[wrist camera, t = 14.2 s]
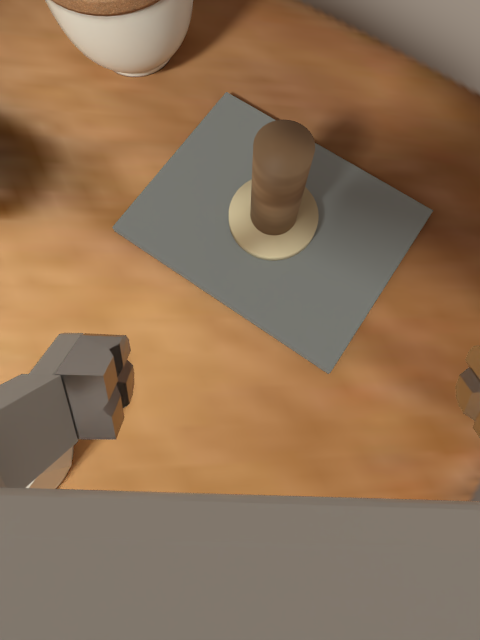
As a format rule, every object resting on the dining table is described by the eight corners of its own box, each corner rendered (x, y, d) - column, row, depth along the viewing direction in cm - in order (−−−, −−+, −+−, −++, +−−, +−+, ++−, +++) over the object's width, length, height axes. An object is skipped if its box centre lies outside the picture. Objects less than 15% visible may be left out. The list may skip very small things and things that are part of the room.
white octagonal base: (-43, 465, 25) (-105, 475, 20) (22, 385, 26) (-23, 378, 21) (29, 526, 24) (-19, 550, 19) (93, 440, 25) (61, 444, 21)
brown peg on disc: (211, 230, 28) (200, 159, 20) (260, 166, 29) (267, 77, 21) (285, 277, 27) (302, 221, 19) (332, 209, 28) (366, 132, 21)
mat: (114, 231, 28) (112, 227, 28) (226, 97, 31) (226, 91, 31) (328, 373, 26) (330, 372, 25) (429, 214, 29) (433, 210, 28)
